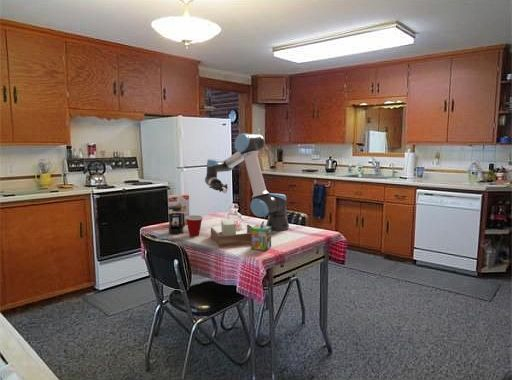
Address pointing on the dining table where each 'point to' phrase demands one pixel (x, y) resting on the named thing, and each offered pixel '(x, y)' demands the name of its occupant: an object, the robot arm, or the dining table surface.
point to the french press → (175, 229)
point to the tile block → (228, 227)
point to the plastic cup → (194, 224)
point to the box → (232, 238)
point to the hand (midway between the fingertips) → (225, 191)
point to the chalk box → (261, 237)
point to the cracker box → (180, 201)
